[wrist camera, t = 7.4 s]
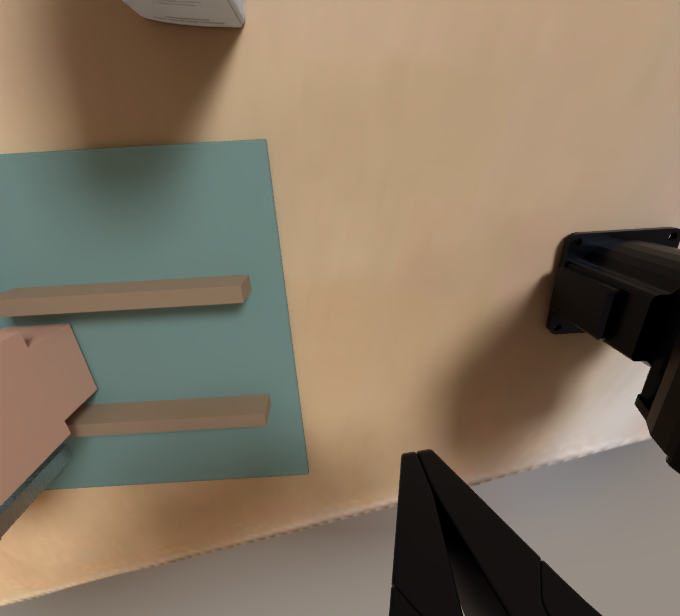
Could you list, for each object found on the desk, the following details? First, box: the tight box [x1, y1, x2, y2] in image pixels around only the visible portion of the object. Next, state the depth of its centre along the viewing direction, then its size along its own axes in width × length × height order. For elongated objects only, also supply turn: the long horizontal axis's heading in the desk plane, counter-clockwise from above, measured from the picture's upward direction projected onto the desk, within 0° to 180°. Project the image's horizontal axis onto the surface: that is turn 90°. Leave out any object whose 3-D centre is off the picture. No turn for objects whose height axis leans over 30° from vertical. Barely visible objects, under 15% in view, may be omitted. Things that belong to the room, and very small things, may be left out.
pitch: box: [0, 139, 309, 490], centre depth 21 cm, size 28×24×2 cm
